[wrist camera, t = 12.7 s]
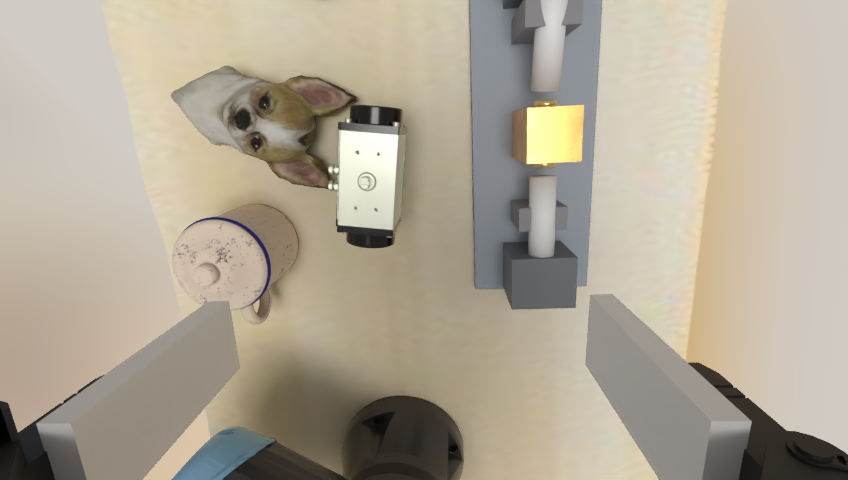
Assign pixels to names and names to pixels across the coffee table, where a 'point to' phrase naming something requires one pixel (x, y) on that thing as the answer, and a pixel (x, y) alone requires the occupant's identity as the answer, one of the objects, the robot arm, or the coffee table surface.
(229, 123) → the ceramic sculpture
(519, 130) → the universal joint coupler
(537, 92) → the shaft rig
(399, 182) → the pneumatic valve
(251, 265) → the teacup with lid
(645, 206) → the coffee table surface
